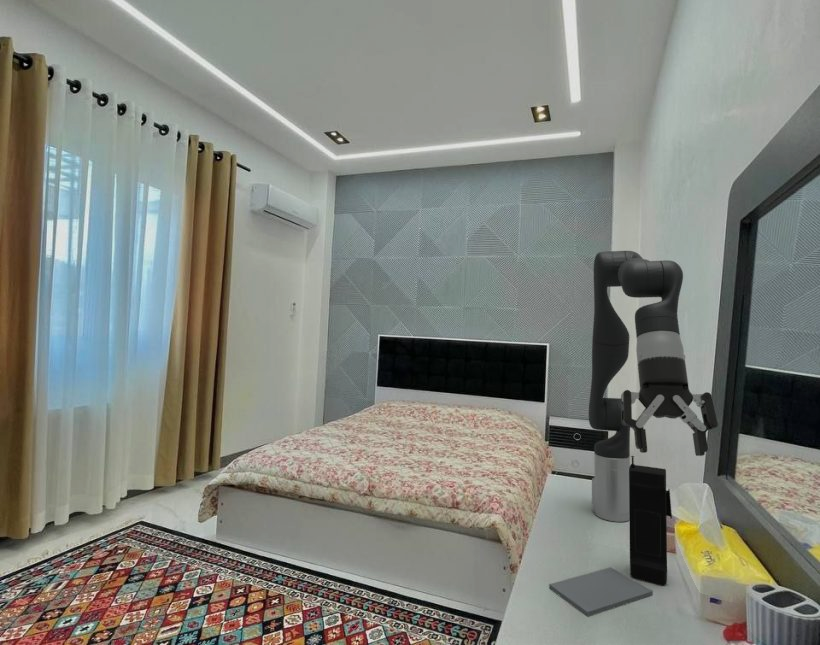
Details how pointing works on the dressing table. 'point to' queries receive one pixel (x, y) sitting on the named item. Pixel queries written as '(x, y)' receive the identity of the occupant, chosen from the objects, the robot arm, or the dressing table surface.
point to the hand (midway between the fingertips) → (671, 453)
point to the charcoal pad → (600, 591)
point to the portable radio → (648, 523)
